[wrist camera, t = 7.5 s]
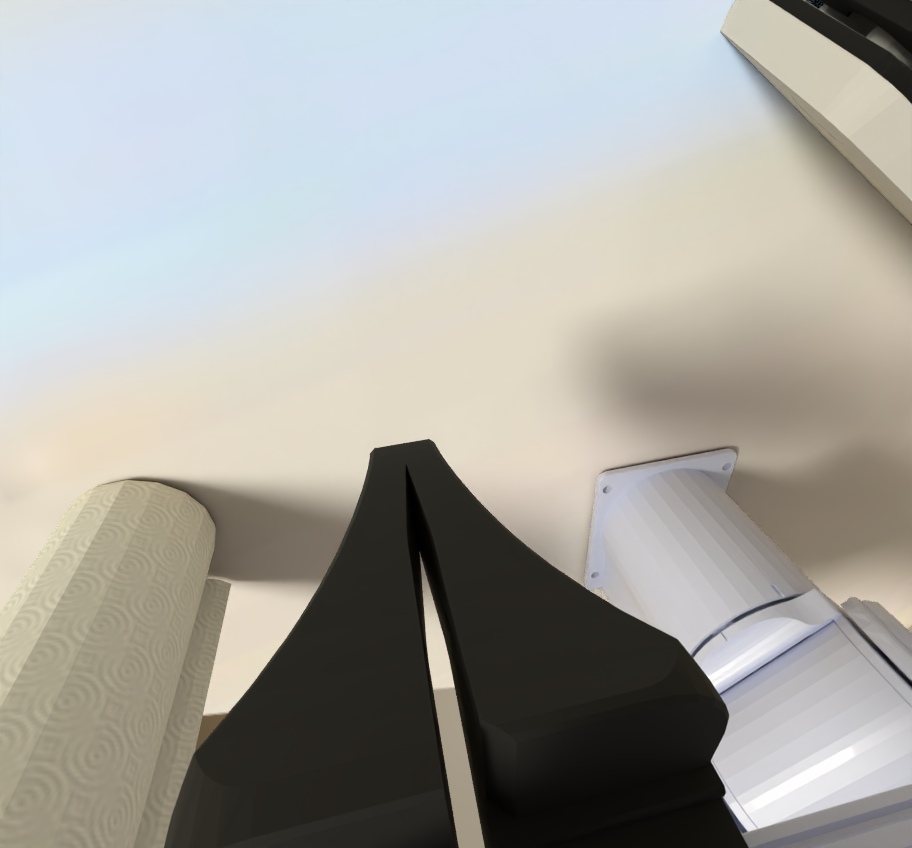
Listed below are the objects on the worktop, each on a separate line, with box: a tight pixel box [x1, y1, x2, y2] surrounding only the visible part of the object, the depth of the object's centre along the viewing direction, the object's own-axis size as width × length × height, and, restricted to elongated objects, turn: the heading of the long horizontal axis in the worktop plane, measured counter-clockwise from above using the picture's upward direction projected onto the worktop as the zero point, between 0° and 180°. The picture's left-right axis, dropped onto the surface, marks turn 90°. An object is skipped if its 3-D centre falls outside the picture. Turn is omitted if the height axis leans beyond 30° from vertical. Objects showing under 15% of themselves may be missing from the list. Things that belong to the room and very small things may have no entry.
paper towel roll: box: [0, 480, 231, 848], centre depth 14 cm, size 7×6×21 cm
